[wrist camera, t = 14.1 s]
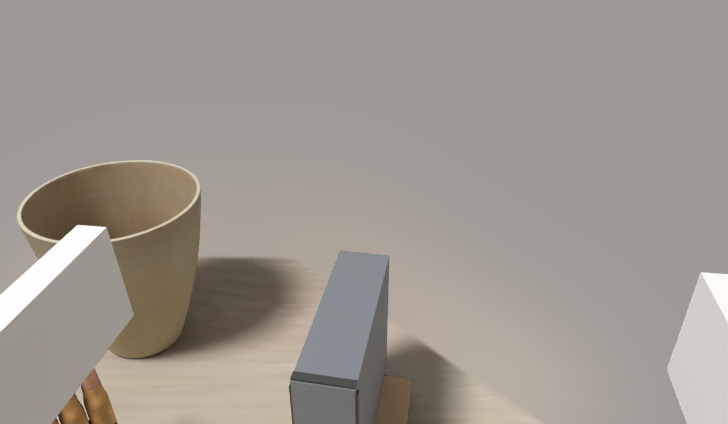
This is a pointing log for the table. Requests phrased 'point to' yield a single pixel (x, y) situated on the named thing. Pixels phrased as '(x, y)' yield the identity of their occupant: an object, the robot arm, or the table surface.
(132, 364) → the table surface
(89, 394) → the ammunition clip
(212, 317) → the table surface
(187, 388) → the table surface
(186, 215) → the plant pot
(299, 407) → the ticket block
